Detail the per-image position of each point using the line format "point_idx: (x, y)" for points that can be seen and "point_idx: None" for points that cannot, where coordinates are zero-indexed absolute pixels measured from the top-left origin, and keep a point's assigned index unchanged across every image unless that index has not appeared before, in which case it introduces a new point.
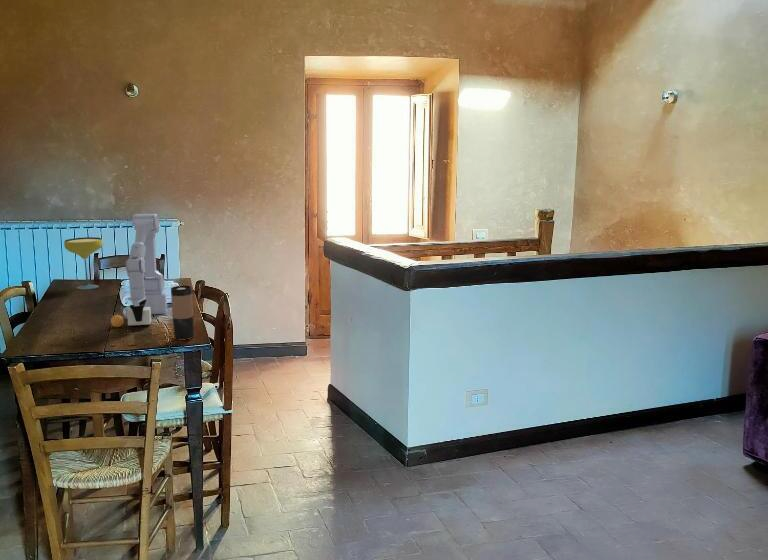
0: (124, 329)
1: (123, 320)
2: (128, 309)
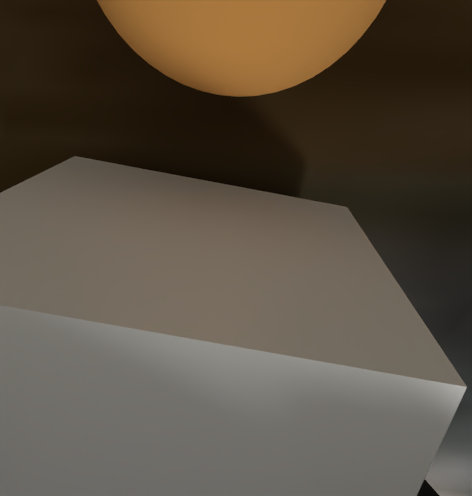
0: (14, 78)
1: (191, 86)
2: (142, 351)
